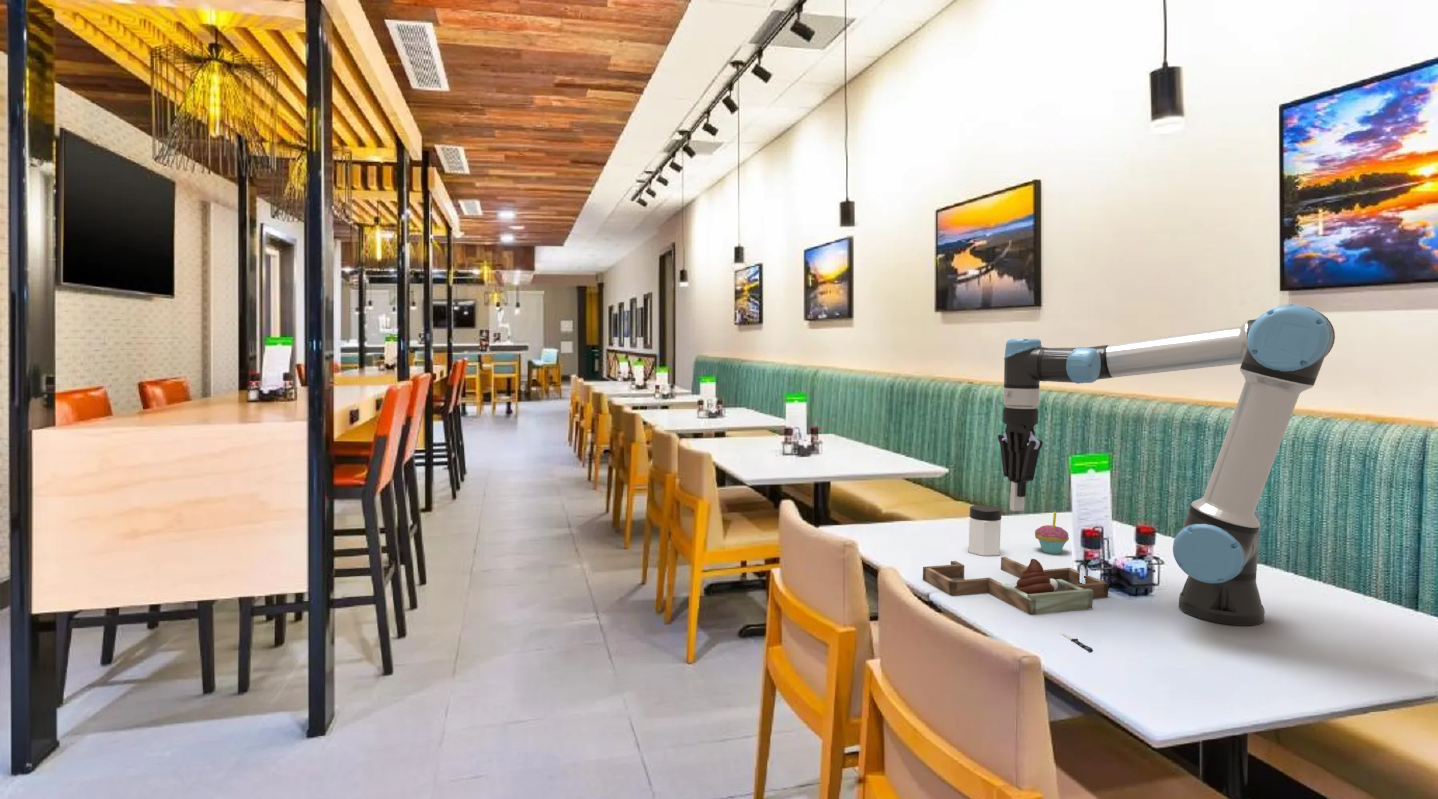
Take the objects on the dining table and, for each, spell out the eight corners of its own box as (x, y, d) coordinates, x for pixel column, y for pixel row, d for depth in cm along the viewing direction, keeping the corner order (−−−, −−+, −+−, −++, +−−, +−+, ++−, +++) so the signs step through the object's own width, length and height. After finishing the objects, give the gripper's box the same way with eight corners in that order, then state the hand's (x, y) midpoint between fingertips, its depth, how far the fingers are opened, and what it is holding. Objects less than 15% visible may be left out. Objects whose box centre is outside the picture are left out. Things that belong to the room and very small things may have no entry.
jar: (1007, 553, 209) (1009, 508, 209) (990, 558, 204) (992, 513, 203) (977, 546, 216) (979, 503, 215) (960, 550, 211) (962, 507, 210)
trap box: (1127, 605, 168) (1128, 587, 168) (991, 618, 159) (992, 599, 159) (1036, 566, 197) (1036, 550, 197) (916, 575, 188) (917, 559, 188)
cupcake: (1073, 556, 207) (1075, 511, 206) (1041, 555, 207) (1043, 511, 206) (1060, 547, 215) (1061, 504, 215) (1029, 547, 216) (1030, 504, 215)
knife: (1099, 653, 143) (1100, 648, 143) (1088, 655, 142) (1089, 649, 142) (1029, 617, 161) (1029, 613, 161) (1019, 618, 161) (1019, 614, 161)
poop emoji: (1003, 596, 174) (1005, 554, 173) (1036, 593, 176) (1038, 552, 176) (1032, 611, 164) (1033, 567, 164) (1066, 608, 167) (1068, 565, 166)
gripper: (988, 404, 181) (985, 505, 183) (1025, 409, 169) (1021, 517, 171) (1016, 404, 183) (1013, 503, 185) (1054, 409, 171) (1050, 515, 173)
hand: (1017, 509), depth 178 cm, fingers closed
